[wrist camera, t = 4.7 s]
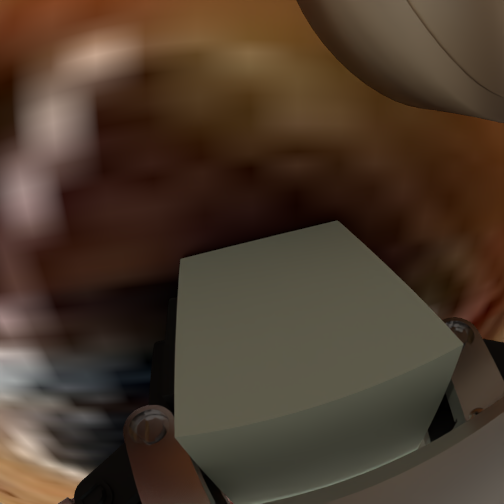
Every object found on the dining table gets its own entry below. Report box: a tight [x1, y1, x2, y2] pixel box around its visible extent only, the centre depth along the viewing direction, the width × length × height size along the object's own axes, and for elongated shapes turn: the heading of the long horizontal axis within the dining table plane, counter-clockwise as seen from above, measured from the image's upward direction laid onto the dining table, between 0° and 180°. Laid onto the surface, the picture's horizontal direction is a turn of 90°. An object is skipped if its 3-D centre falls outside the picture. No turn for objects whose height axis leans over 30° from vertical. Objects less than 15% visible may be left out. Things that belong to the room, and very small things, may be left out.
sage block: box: [174, 220, 463, 504], centre depth 8 cm, size 5×5×6 cm
